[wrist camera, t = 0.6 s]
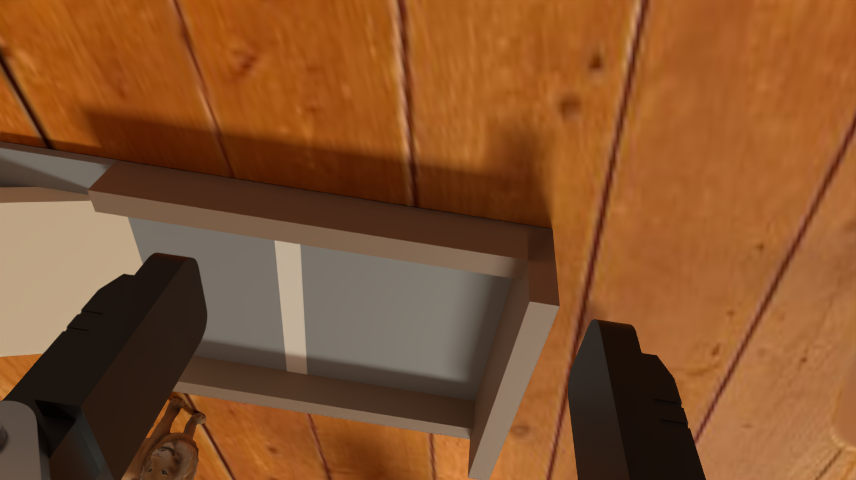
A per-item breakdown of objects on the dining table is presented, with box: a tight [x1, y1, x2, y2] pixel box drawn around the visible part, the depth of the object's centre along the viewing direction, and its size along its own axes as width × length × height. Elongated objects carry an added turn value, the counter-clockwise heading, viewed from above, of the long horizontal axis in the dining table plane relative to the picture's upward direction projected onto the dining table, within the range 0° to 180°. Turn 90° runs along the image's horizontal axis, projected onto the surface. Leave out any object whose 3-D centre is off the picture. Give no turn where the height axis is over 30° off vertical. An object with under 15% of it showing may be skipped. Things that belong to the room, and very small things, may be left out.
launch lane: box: [0, 141, 560, 480], centre depth 36 cm, size 42×19×7 cm, turn 84°
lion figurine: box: [121, 397, 206, 480], centre depth 47 cm, size 15×5×9 cm, turn 116°
